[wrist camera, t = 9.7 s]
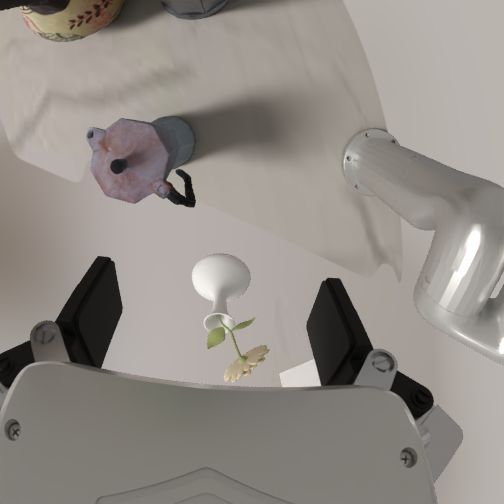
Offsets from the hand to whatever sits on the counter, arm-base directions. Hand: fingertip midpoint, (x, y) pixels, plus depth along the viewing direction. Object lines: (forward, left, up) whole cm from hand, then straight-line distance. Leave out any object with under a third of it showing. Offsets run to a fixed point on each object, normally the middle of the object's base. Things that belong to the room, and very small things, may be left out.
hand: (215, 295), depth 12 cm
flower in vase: (-1, +24, -35) cm, 43 cm away
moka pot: (+9, -1, -35) cm, 36 cm away
